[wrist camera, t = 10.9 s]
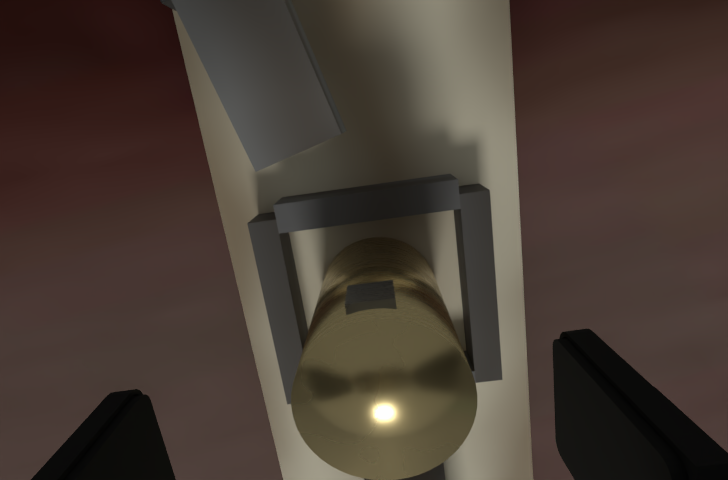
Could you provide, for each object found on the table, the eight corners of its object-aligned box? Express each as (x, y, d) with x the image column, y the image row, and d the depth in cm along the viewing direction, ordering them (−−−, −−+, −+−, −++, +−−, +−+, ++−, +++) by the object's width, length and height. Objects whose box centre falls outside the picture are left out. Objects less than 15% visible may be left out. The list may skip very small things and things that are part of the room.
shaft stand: (314, 548, 23) (295, 691, 18) (166, -110, 15) (41, -246, 10) (523, 529, 23) (575, 670, 17) (482, -167, 15) (553, -351, 9)
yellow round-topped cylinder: (312, 240, 17) (272, 324, 10) (429, 224, 16) (469, 299, 10) (333, 352, 18) (310, 495, 11) (441, 339, 18) (484, 477, 11)
